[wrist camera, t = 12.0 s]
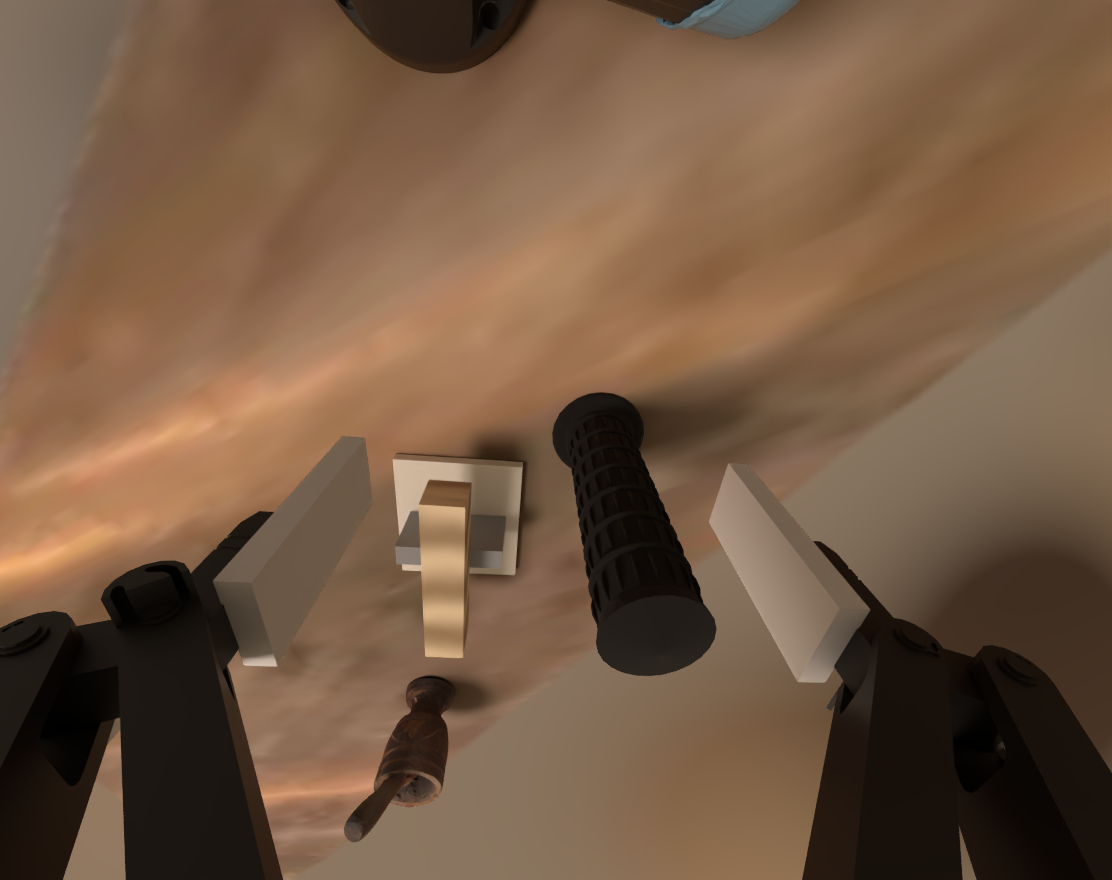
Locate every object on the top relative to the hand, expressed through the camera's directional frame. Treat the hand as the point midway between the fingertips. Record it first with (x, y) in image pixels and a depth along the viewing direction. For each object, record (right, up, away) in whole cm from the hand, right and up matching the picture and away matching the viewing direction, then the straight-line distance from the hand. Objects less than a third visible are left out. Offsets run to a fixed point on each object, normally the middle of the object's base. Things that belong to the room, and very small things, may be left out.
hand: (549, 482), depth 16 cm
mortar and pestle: (-20, -36, +50) cm, 65 cm away
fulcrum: (-11, -8, +36) cm, 38 cm away
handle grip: (+5, +2, +31) cm, 32 cm away
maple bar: (-11, -11, +29) cm, 33 cm away
